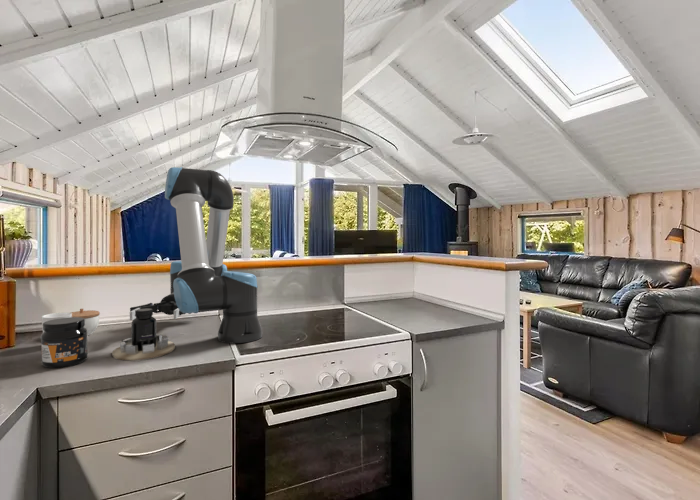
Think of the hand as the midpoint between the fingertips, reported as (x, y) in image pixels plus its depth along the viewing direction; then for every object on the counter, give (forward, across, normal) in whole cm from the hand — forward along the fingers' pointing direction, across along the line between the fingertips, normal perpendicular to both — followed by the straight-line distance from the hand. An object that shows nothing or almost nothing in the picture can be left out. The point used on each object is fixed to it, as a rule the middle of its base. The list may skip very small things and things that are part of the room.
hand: (153, 315), depth 125 cm
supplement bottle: (+8, 0, -9) cm, 12 cm away
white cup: (-3, +30, -10) cm, 32 cm away
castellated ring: (+8, 0, -10) cm, 12 cm away
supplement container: (+16, +18, -10) cm, 26 cm away
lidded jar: (-16, +30, -10) cm, 35 cm away
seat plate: (+8, 0, -10) cm, 12 cm away
